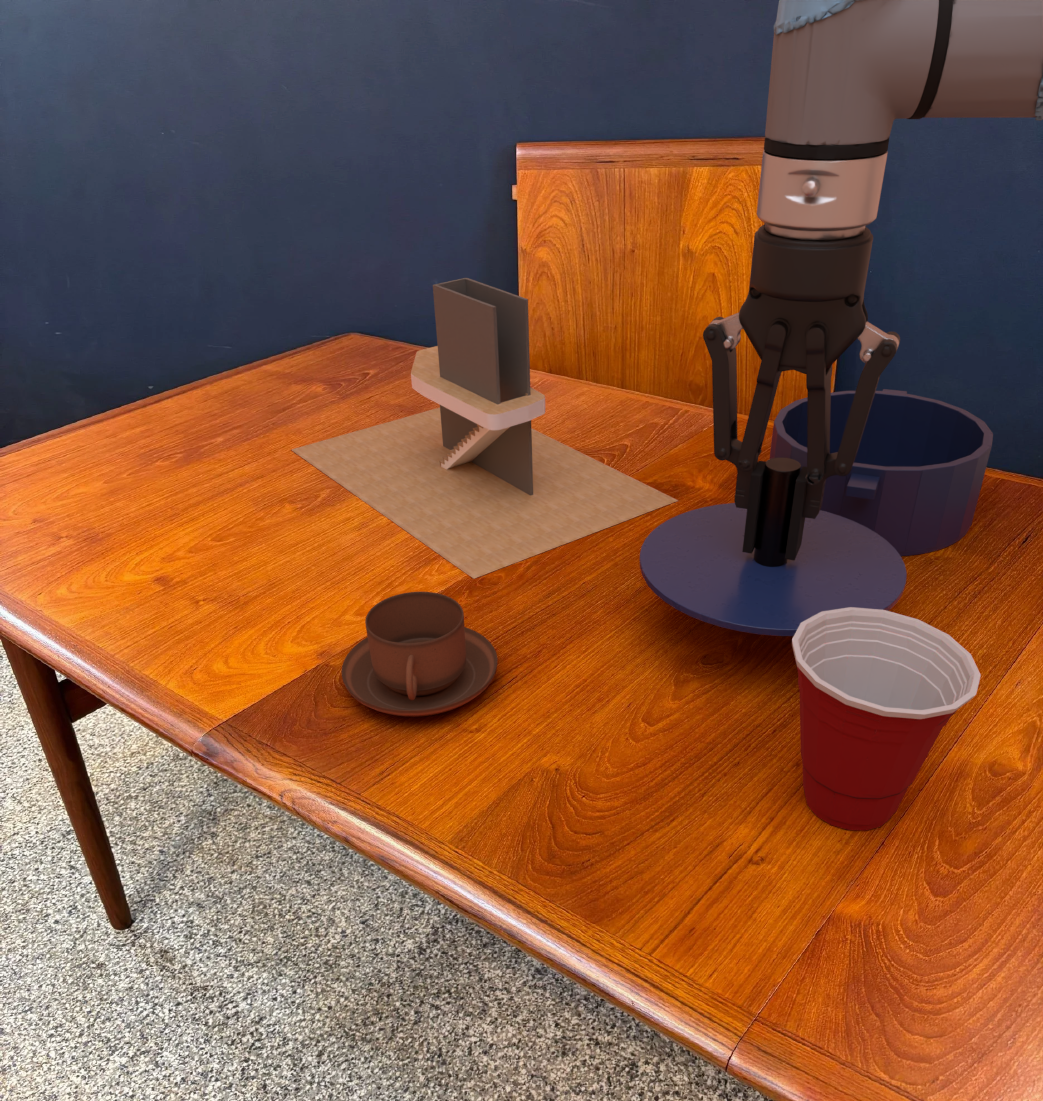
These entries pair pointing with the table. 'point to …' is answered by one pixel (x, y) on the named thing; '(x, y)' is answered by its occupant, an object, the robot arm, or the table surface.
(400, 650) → the cup and saucer
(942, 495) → the pot
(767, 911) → the table surface
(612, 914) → the table surface
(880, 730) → the plastic cup
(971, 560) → the table surface
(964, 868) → the table surface
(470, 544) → the architectural model
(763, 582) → the pot lid
